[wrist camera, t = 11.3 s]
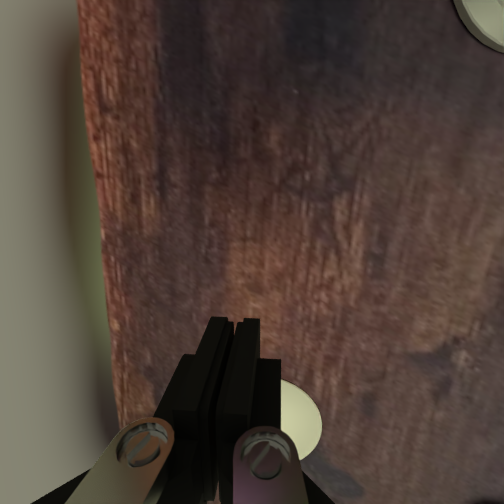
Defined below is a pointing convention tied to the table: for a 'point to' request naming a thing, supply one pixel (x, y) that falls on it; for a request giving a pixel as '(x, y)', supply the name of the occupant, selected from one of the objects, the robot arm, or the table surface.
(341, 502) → the table surface
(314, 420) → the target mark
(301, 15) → the table surface
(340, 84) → the table surface
